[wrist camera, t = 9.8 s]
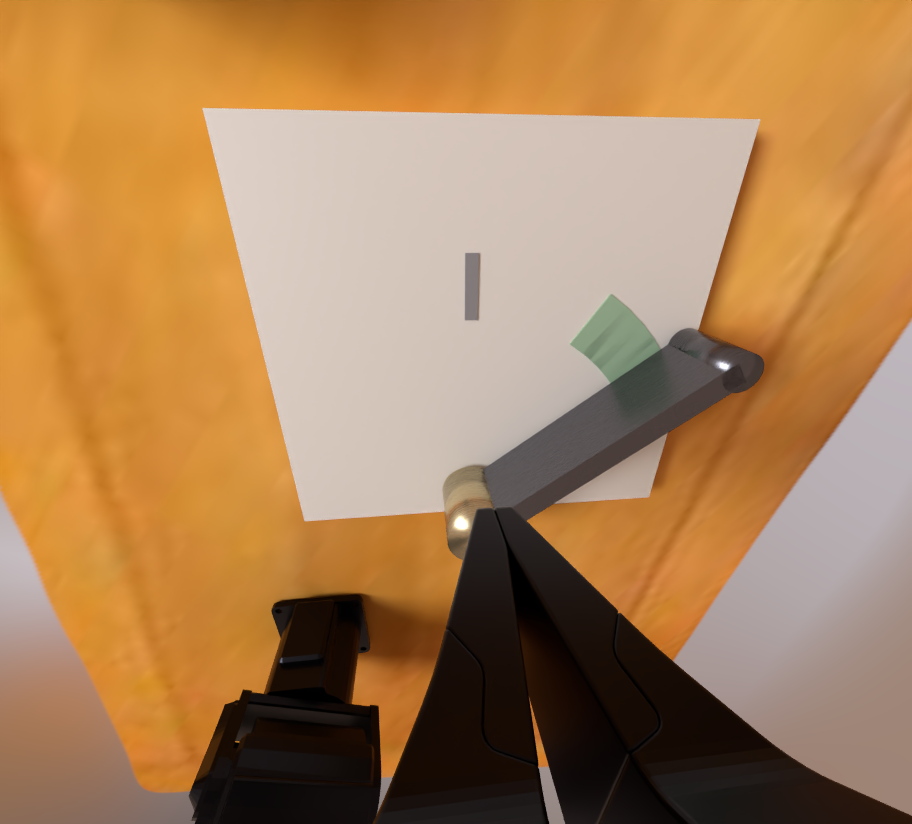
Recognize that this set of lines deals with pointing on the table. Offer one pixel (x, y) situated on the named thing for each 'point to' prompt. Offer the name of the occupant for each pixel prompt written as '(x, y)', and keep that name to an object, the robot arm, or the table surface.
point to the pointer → (601, 430)
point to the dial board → (464, 280)
